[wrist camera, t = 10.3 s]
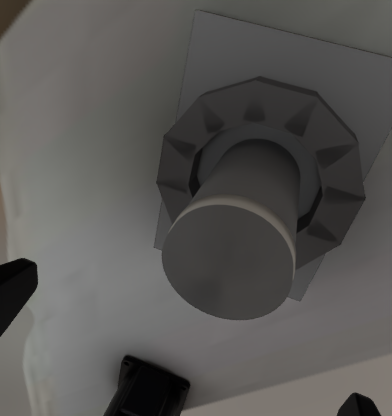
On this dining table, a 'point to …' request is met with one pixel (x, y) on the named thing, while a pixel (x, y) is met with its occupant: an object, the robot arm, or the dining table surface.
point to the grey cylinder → (238, 234)
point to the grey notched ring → (279, 123)
